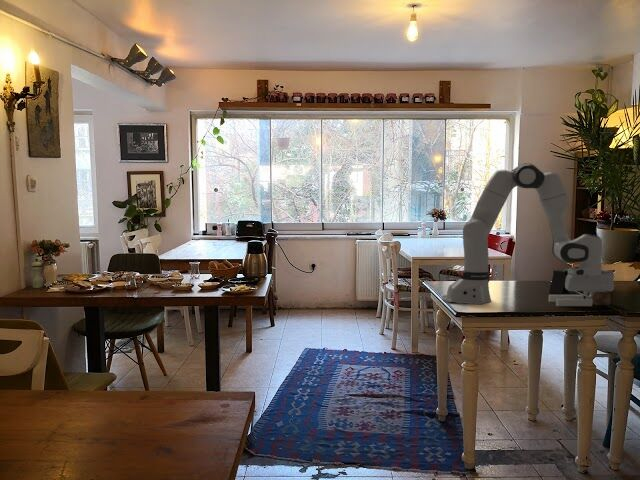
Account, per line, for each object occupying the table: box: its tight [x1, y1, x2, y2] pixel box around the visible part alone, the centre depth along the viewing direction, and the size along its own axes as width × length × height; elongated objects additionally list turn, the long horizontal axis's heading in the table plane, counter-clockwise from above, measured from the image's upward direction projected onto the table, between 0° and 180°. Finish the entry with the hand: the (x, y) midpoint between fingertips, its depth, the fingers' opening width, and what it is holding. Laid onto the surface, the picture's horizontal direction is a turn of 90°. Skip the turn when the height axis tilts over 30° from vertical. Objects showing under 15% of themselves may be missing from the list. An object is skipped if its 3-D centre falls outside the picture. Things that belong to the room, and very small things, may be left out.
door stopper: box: [548, 268, 571, 295], centre depth 256 cm, size 9×6×12 cm, turn 122°
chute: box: [548, 294, 593, 307], centre depth 229 cm, size 15×10×4 cm, turn 87°
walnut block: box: [592, 291, 612, 306], centre depth 228 cm, size 6×6×5 cm
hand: (588, 300), depth 228 cm, fingers closed
